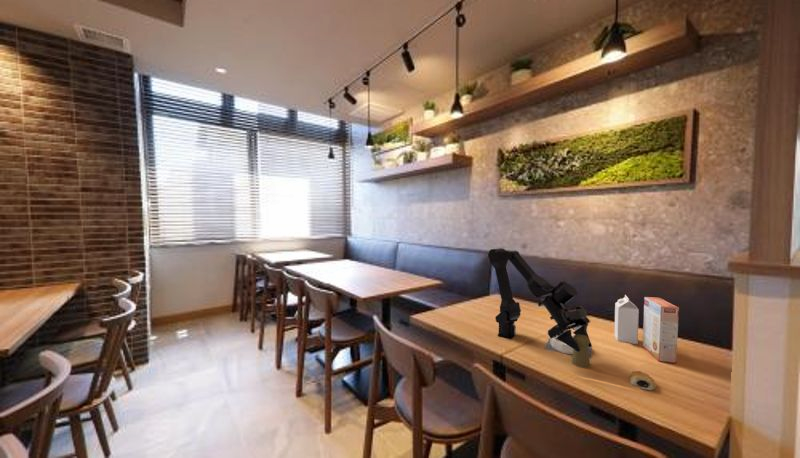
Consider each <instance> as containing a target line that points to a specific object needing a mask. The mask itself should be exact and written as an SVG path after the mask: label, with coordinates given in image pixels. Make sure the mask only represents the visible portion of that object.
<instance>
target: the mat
mask: <svg viewBox="0 0 800 458" xmlns="http://www.w3.org/2000/svg"><path fill="white" fill-rule="evenodd" d="M546 342H547V343H546V344H545V347H544V350H546V351H551V352H556V353H560V354H561V353H562V352H559V351H557V350H555V349H553V348H552V347H551V343H550V337H549V338H548V340H547V341H546ZM592 348H593V346H591V347H588V351H589V359H592V351H593V349H592ZM562 354H563V353H562ZM564 354H566V353H564ZM566 355H567V354H566ZM569 355H570V356H573V355H572V354H569Z"/></svg>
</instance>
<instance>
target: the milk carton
mask: <svg viewBox="0 0 800 458" xmlns="http://www.w3.org/2000/svg"><path fill="white" fill-rule="evenodd" d="M614 305H615V306H614V338H615V339H616V341H617V342H623V343H629V344H630V345H631V344H632V345H638V343H639V342H638V341H639V339H638V338H639V313H640V312H639V311H640V310H639V308H638V307H637V305H636V304H634V303H633V302H632V301H631V300H630V298H629V297H628V296H627V295H626V294H624V297H623V298H619V299H617V302H615V303H614Z"/></svg>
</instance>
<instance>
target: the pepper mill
mask: <svg viewBox="0 0 800 458" xmlns="http://www.w3.org/2000/svg"><path fill="white" fill-rule="evenodd" d="M574 335H575V334H574ZM588 337H589V336H588ZM588 337H587V336H585V335H582V334H577V335H575V336H574V337H573V339H574V340H575V342H576V343H577V345H578V347H579V348H580V351H579V352H577V351H576V350H574V351H573V355H572V357H571V364H572V365H574V366H576V367H577V368H582V369H583V368H584V369H586V368H590V367H591V360H590V358H589V351H588V345H589V343H590V342H591V340H589V339H590V337H589V338H588Z"/></svg>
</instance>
